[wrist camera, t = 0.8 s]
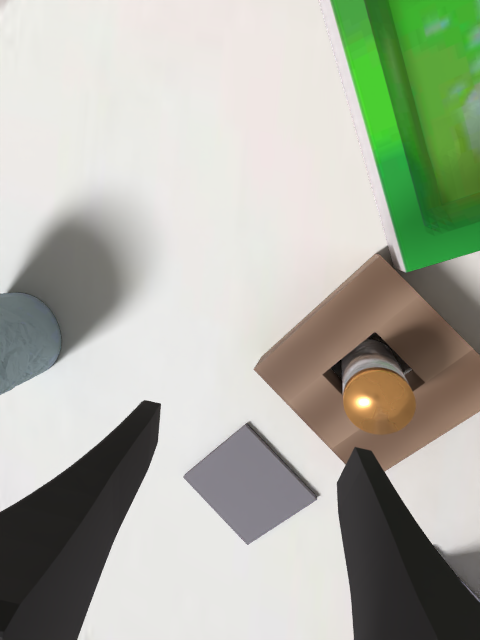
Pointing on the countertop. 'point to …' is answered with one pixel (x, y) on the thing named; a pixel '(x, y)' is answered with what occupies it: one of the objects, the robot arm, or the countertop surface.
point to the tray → (415, 118)
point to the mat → (249, 485)
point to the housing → (402, 336)
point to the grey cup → (26, 339)
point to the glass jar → (376, 389)
